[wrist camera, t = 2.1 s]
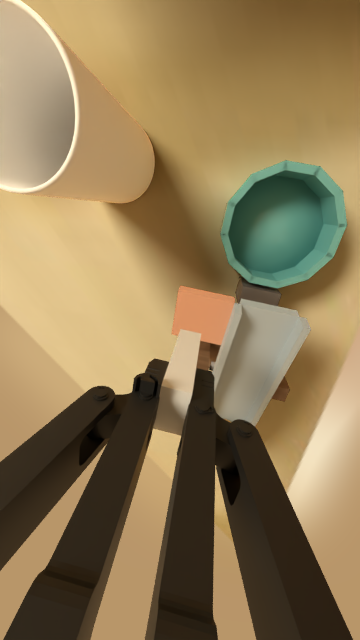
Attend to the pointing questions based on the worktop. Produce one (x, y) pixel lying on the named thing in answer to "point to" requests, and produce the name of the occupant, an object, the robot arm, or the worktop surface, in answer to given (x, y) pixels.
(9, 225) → the worktop surface
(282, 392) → the stand
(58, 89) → the cup
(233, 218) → the dish
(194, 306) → the lever
